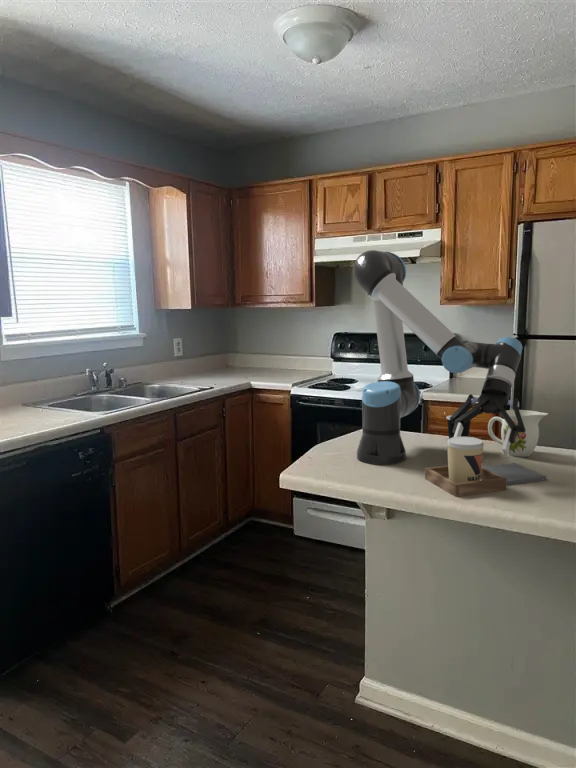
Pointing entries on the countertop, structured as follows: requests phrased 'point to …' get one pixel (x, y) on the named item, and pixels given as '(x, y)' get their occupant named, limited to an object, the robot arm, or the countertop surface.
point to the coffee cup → (464, 459)
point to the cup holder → (487, 483)
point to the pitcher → (523, 440)
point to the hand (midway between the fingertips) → (478, 448)
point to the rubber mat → (516, 473)
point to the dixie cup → (465, 427)
